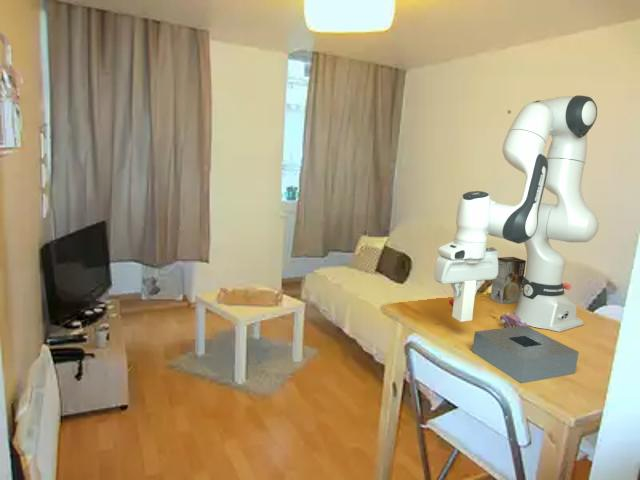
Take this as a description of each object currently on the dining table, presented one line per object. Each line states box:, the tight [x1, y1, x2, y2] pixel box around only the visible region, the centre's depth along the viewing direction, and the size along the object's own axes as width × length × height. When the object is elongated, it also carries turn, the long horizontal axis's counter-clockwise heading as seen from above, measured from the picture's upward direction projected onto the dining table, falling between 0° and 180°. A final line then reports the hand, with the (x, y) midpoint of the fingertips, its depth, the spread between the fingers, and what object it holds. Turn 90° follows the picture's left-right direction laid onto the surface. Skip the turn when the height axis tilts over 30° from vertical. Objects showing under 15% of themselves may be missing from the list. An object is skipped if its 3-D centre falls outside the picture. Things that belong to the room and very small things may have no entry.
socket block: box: [471, 326, 580, 384], centre depth 128 cm, size 18×18×6 cm
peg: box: [451, 281, 476, 323], centre depth 140 cm, size 4×4×12 cm
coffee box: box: [489, 256, 527, 305], centre depth 179 cm, size 9×6×16 cm
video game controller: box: [499, 312, 530, 328], centre depth 149 cm, size 10×5×7 cm, turn 24°
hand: (464, 295), depth 140 cm, fingers closed on peg, 4 cm apart
